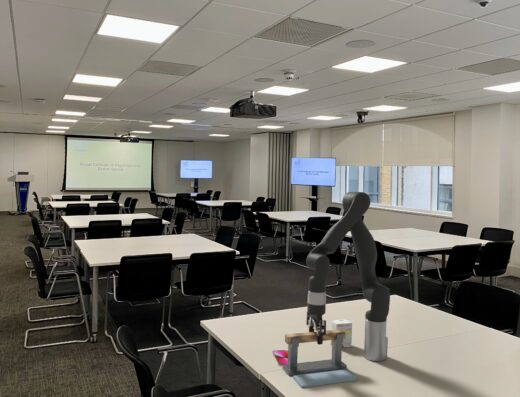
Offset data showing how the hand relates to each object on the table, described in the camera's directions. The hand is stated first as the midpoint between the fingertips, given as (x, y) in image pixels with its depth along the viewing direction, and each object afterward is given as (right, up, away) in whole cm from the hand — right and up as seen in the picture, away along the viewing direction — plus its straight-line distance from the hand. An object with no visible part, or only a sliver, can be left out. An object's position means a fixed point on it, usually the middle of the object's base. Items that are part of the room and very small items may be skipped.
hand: (315, 340), depth 182 cm
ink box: (+16, -11, +27) cm, 33 cm away
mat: (+3, -12, -9) cm, 15 cm away
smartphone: (-13, -12, +10) cm, 20 cm away
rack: (0, -12, +1) cm, 12 cm away
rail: (0, 0, 0) cm, 0 cm away
